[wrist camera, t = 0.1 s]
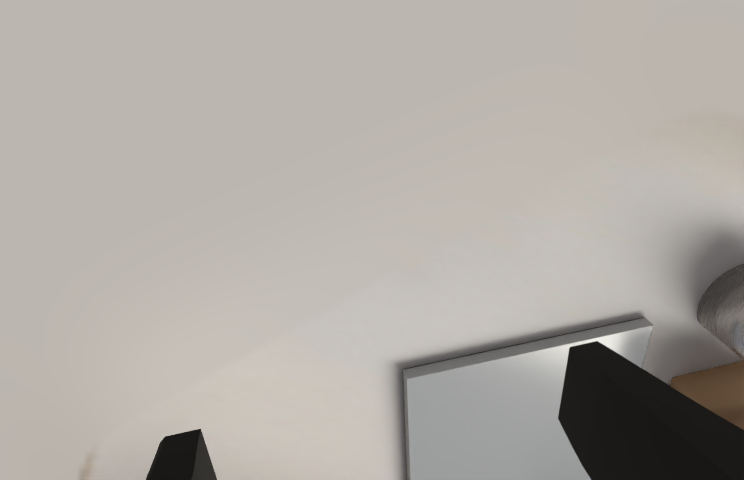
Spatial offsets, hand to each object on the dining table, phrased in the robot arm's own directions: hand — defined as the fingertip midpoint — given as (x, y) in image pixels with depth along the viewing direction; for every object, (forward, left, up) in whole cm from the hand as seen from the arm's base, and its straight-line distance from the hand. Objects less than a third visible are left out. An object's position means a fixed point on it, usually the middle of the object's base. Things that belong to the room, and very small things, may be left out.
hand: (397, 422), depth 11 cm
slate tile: (-15, -9, -10) cm, 20 cm away
